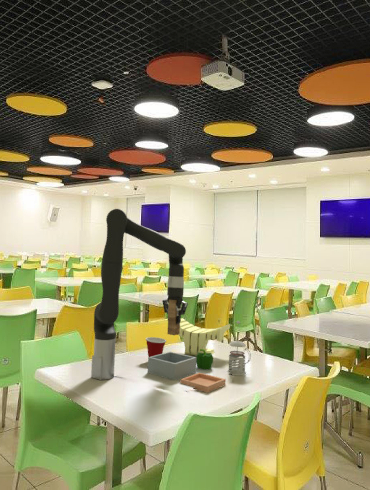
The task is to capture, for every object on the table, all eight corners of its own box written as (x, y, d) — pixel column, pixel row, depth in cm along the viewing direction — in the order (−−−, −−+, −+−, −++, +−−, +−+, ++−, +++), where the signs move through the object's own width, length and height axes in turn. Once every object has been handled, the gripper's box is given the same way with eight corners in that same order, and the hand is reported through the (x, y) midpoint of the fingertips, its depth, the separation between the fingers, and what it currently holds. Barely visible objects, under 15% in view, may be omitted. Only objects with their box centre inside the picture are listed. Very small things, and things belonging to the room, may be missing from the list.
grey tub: (174, 382, 178) (175, 364, 179) (147, 374, 188) (148, 357, 188) (195, 374, 191) (196, 357, 191) (169, 367, 201) (170, 351, 201)
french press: (231, 368, 204) (233, 318, 205) (253, 372, 198) (255, 321, 199) (222, 373, 196) (224, 320, 196) (245, 377, 190) (247, 323, 190)
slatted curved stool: (169, 353, 231) (170, 321, 231) (181, 347, 245) (182, 318, 245) (219, 361, 218) (220, 327, 218) (228, 354, 232) (230, 323, 233)
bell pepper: (215, 369, 202) (216, 349, 202) (208, 373, 195) (208, 352, 195) (200, 366, 206) (201, 346, 206) (192, 370, 199) (193, 349, 199)
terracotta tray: (207, 392, 167) (207, 386, 167) (180, 385, 175) (180, 379, 175) (225, 384, 178) (225, 379, 178) (199, 378, 186) (199, 372, 186)
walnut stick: (174, 335, 187) (175, 300, 188) (167, 334, 190) (169, 299, 190) (179, 334, 190) (181, 299, 191) (172, 332, 193) (174, 299, 193)
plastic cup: (164, 365, 205) (165, 341, 205) (143, 364, 205) (144, 340, 205) (166, 359, 216) (167, 337, 216) (145, 359, 216) (146, 336, 216)
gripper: (158, 285, 192) (157, 321, 191) (182, 287, 183) (181, 326, 183) (168, 284, 198) (167, 320, 197) (192, 287, 189) (191, 324, 189)
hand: (174, 322), depth 190 cm, fingers closed on walnut stick, 4 cm apart
